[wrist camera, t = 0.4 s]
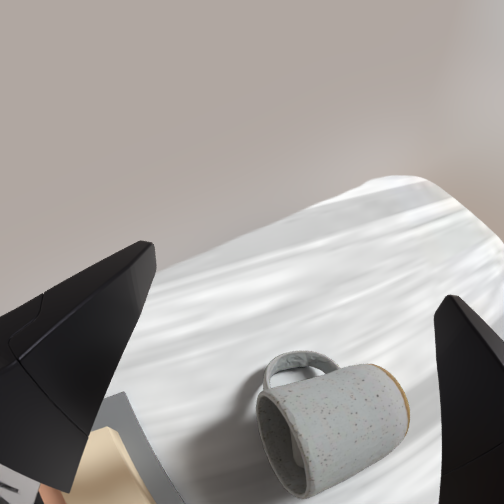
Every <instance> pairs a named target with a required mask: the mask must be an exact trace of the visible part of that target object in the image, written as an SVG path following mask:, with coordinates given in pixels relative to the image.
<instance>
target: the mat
mask: <svg viewBox="0 0 504 504" xmlns="http://www.w3.org/2000/svg"><path fill="white" fill-rule="evenodd" d="M107 426H108V427H109V428H111V429H113V430H115V431H117V432H118V433H119V436H120V438H121V440H122V442H123V444H124V446H125V448H126V450H127V452H128V454H129V456H130V458H131V460H132V462H133V464H134V466H135V468H136V470H137V471H138V473H139V475H140V477H141V479H142V480H143V482H144V484H145V486H146V487H147V489H148V491H149V492H150V494H151V496H152V497H153V499H154V500H155V502H156V504H185V503H184V501H183V500H182V498H181V497H180V495H179V494H178V492H177V490H176V489H175V487H174V486H173V484H172V483H171V481H170V479H169V478H168V476H167V474H166V473H165V471H164V469H163V467H162V466H161V464H160V462H159V460H158V459H157V457H156V455H155V453H154V451H153V450H152V448H151V446H150V444H149V442H148V440H147V438H146V436H145V434H144V432H143V430H142V428H141V426H140V424H139V422H138V420H137V418H136V416H135V414H134V412H133V409H132V407H131V405H130V403H129V400H128V398H127V396H126V393H125V392H124V391H123V392H121V393H118V394H116V395H113V396H110V397H108V398H105V399H103V401H102V404H101V406H100V409H99V411H98V414H97V416H96V419H95V422H94V424H93V427H92V429H91V432H92V431H95V430H98V429H101V428H104V427H107ZM39 493H40V495H41V498H42V500H43V502H44V504H66V502H65V499H64V497H63V495H62V493H61V491H60V490H57V489H54V488H52V487H49V486H47V485H44V484H42V483H41V485H40V488H39Z"/></svg>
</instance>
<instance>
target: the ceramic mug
mask: <svg viewBox="0 0 504 504" xmlns="http://www.w3.org/2000/svg"><path fill="white" fill-rule="evenodd" d="M305 366H311V367H315V368H317V369H320V370H321V371H323V372H324V373H325V375H321V376H318V377H314V378H310V379H306V380H302V381H298V382H295V383H291V384H287V385H282V386H278V387H274V388H271V387H270V378H271V376H272V375H273V374H275V373H277V372H278V371H281V370H285V369H290V368H296V367H305ZM256 414H257V422H258V429H259V434H260V436H261V439H262V443H263V447H264V450H265V453H266V455H267V457H268V460H269V463H270V465H271V466H272V469H273V471H274V472H275V474H276V476H277V478H278V479H279V481H280V482H281V484H282V485H283V487H284V488H285V489H286V490H287V491H289V493H290V494H292V495H293V496H295V497H297V498H299V499H306V498H310V497H312V496H314V495H316V494H318V493H320V492H322V491H324V490H326V489H329V488H331V487H333V486H335V485H337V484H339V483H341V482H343V481H345V480H347V479H348V478H350V477H352V476H354V475H355V474H357V473H359V472H360V471H362V470H364V469H365V468H367V467H369V466H371V465H372V464H374V463H376V462H378V461H379V460H381V459H382V458H384V457H385V456H387V455H388V454H389V453H391V452H392V451H393V450H394V449H395V448H396V447H397V446H398V445H399V444H400V443H401V442H402V440H403V439H404V437H405V436H406V434H407V431H408V428H409V422H410V408H409V404H408V400H407V398H406V395H405V393H404V391H403V389H402V387H401V386H400V384H399V383H398V381H397V380H396V379H395V378H394V377H393V376H392V375H391V374H390V373H389V372H388V371H386V370H385V369H383V368H382V367H380V366H377V365H374V364H359V365H352V366H348V367H344V368H340V367H339V365H338V364H336V363H335V362H334V361H333V360H332V359H330V358H328V357H327V356H325V355H323V354H320V353H317V352H312V351H293V352H288V353H284V354H281V355H279V356H277V357H275V358H274V359H273V360H272V361H271V362H270V363H269V365H268V366H267V368H266V370H265V373H264V380H263V391H262V392H260V393H259V395H258V398H257V404H256Z"/></svg>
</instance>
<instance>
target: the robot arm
mask: <svg viewBox="0 0 504 504" xmlns="http://www.w3.org/2000/svg"><path fill="white" fill-rule="evenodd" d="M155 273H156V256H155V247H154V244H153V243H152V242H147V241H138V242H136V243H134V244H132V245H130V246H128V247H126V248H124V249H122V250H120V251H118V252H116V253H115V254H113V255H111V256H109V257H107V258H105V259H103V260H101V261H100V262H98V263H96V264H94V265H92V266H90V267H88V268H86V269H85V270H83V271H81V272H79V273H77V274H76V275H74V276H72V277H70V278H68V279H66V280H65V281H63V282H61V283H59V284H58V285H56V286H54V287H52V288H51V289H49V290H47V291H45V292H44V294H43V293H42V294H40V295H39V296H37V297H35V298H34V299H32V300H30V301H28V302H27V303H25V304H23V305H21V306H20V307H18V308H16V309H14V310H12V311H10V312H8V313H6V314H5V315H3V316H1V317H0V504H44V502H43V500H42V498H41V495H40V493H39V488H40V485H41V483H42V484H44V485H47V486H49V487H52V488H54V489H57V490H60V491H62V492H65V493H68V494H69V493H70V491H71V488H72V485H73V482H74V479H75V476H76V473H77V470H78V467H79V464H80V461H81V458H82V455H83V452H84V449H85V446H86V444H87V441H88V438H89V437H88V436H89V435H90V432H91V429H92V427H93V424H94V422H95V419H96V416H97V414H98V411H99V409H100V406H101V404H102V401H103V399H104V396H105V394H106V391H107V389H108V387H109V384H110V382H111V379H112V377H113V375H114V372H115V370H116V368H117V366H118V363H119V361H120V359H121V356H122V354H123V352H124V350H125V348H126V345H127V343H128V341H129V339H130V337H131V334H132V332H133V330H134V328H135V326H136V324H137V322H138V319H139V317H140V315H141V312H142V309H143V306H144V303H145V301H146V298H147V295H148V292H149V289H150V286H151V284H152V281H153V278H154V276H155ZM434 329H435V344H436V362H437V371H438V380H439V391H440V404H441V423H442V466H441V482H440V495H439V504H504V341H503V340H502V339H501V338H500V337H499V336H498V335H497V334H496V333H495V332H494V331H493V330H492V329H491V328H490V327H489V326H488V325H487V324H486V322H485V321H484V320H483V319H482V318H481V317H480V316H479V315H478V314H477V313H476V312H475V311H473V310H472V309H471V308H470V307H469V306H468V305H467V304H466V303H465V302H464V301H463V300H462V299H461V298H460V297H459V296H456V295H447V296H446V297H445V298H444V300H443V301H442V303H441V304H440V306H439V307H438V309H437V310H436V312H435V314H434Z"/></svg>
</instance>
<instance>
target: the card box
mask: <svg viewBox="0 0 504 504" xmlns="http://www.w3.org/2000/svg"><path fill="white" fill-rule="evenodd" d="M88 437H89V438H88V441H87V444H86V446H85V449H84V452H83V455H82V458H81V461H80V464H79V467H78V470H77V473H76V476H75V479H74V482H73V485H72V488H71V491H70V493H69V494H68V493H65V492H62V491H61V493H62V495H63V497H64V499H65V502H66V504H156V502H155V500H154V499H153V497H152V496H151V494H150V492H149V491H148V489H147V487H146V486H145V484H144V482H143V480H142V479H141V477H140V475H139V473H138V471H137V470H136V468H135V466H134V464H133V462H132V460H131V458H130V456H129V454H128V452H127V450H126V448H125V446H124V444H123V442H122V440H121V438H120V436H119V433H118V432H117V431H115V430H113V429H111V428H109V427H108V426H107V427H104V428H101V429H98V430H95V431H92V432H90V435H89V436H88Z"/></svg>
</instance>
